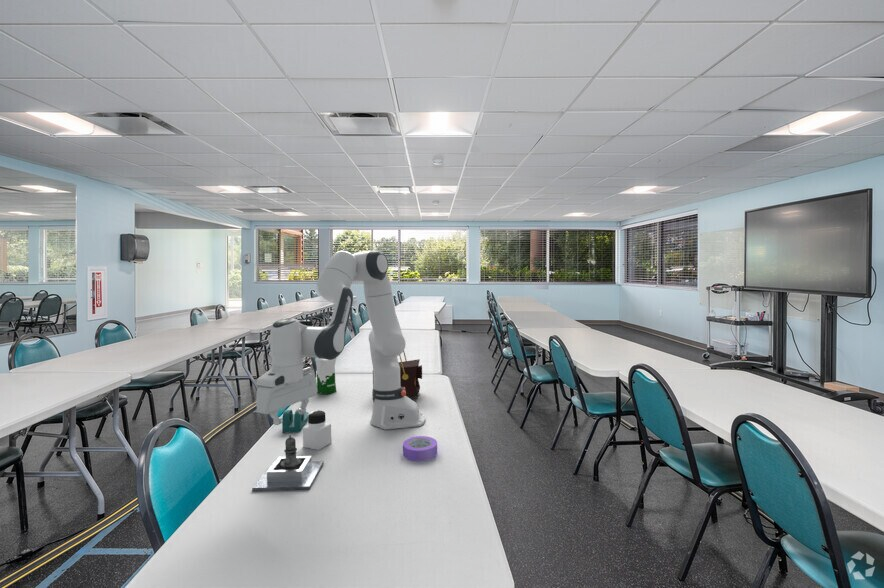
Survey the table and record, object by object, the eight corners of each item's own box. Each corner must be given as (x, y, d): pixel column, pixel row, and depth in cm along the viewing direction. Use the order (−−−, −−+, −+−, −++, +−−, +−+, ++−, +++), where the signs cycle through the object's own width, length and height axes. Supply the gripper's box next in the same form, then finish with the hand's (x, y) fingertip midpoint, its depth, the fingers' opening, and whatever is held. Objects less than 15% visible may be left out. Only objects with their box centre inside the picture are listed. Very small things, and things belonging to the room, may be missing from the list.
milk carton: (327, 388, 220) (326, 351, 219) (339, 391, 215) (338, 353, 214) (314, 393, 212) (313, 354, 211) (326, 395, 207) (325, 356, 206)
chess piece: (296, 479, 121) (295, 439, 120) (277, 478, 121) (275, 438, 121) (305, 469, 126) (303, 431, 126) (286, 468, 127) (285, 430, 126)
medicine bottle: (331, 442, 149) (331, 410, 148) (318, 450, 142) (317, 416, 142) (316, 439, 152) (315, 407, 151) (302, 447, 145) (301, 413, 145)
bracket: (300, 432, 160) (299, 412, 159) (282, 433, 159) (281, 413, 159) (310, 416, 178) (310, 398, 177) (294, 417, 177) (294, 399, 177)
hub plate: (323, 463, 132) (323, 451, 132) (309, 489, 116) (309, 475, 116) (273, 465, 132) (273, 452, 132) (252, 491, 116) (251, 477, 116)
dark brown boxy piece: (420, 401, 196) (419, 349, 194) (372, 402, 196) (371, 350, 195) (422, 391, 212) (422, 343, 211) (377, 392, 212) (376, 344, 211)
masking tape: (420, 465, 131) (419, 453, 131) (395, 454, 139) (395, 443, 139) (444, 453, 140) (444, 442, 140) (420, 443, 148) (420, 433, 148)
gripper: (306, 364, 133) (308, 406, 134) (251, 381, 115) (254, 429, 116) (320, 366, 130) (323, 409, 131) (267, 383, 112) (269, 432, 113)
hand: (290, 418), depth 123 cm, fingers open, 8 cm apart
